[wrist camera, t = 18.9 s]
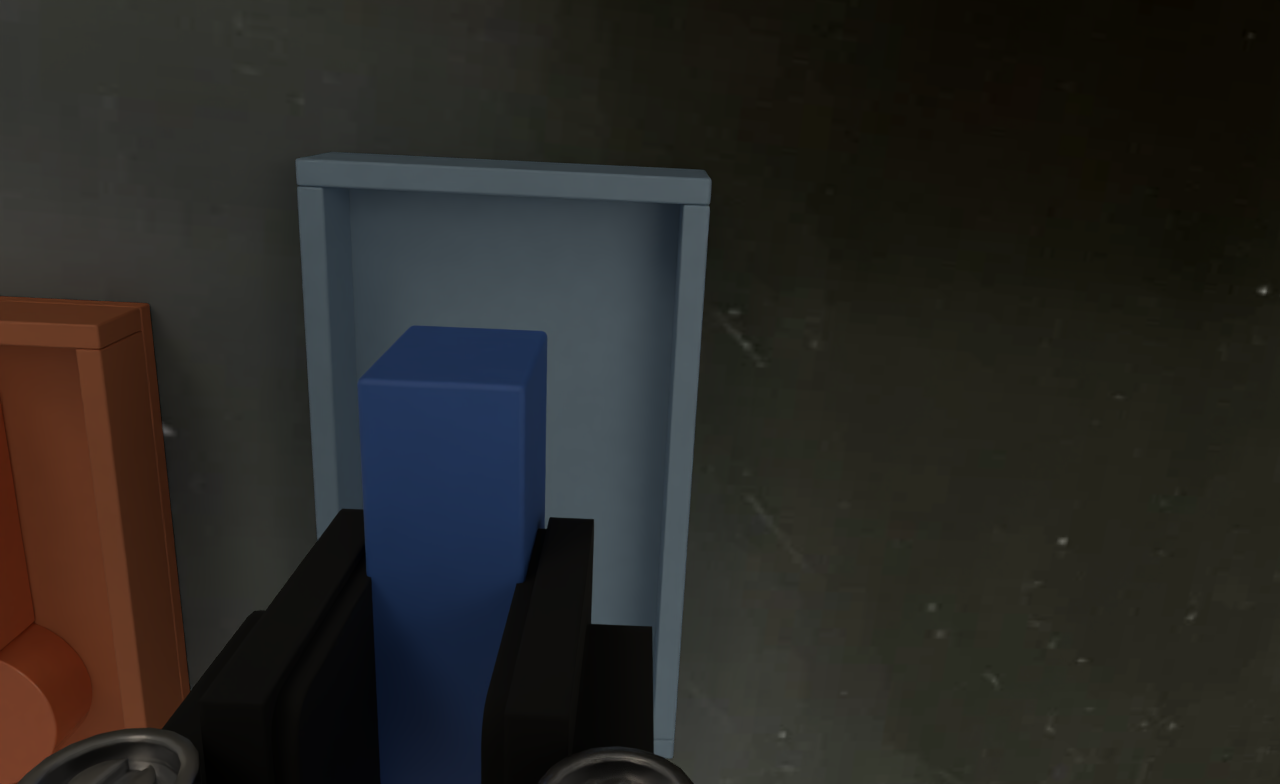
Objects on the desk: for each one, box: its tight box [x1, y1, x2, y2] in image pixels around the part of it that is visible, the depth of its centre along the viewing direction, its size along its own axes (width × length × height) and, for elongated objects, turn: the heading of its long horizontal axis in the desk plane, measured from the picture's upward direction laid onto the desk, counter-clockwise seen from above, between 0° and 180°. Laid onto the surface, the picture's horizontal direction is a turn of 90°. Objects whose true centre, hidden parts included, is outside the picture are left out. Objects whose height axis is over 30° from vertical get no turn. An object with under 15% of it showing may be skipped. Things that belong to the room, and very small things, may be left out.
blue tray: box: [295, 152, 712, 758], centre depth 25 cm, size 15×9×2 cm, turn 177°
